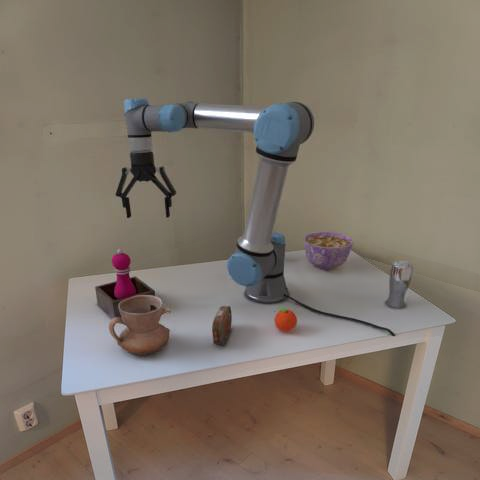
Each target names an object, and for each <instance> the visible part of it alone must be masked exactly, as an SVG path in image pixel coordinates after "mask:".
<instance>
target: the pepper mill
mask: <svg viewBox="0 0 480 480" xmlns="http://www.w3.org/2000/svg"><path fill="white" fill-rule="evenodd" d="M131 263H132V261H131V258H130V256H129V254H128V253H125V252H124V251H123V249H122V248H118V249H117V251H116V253H115V254H113V256H112V258H111V265H112V266H113V267H114V273H115V274H116V281H117V283H116V286H115V290H114V295H115V297H116V298H117V299H118V300H119V299H123V298H126V297H130V296H133V295H136V289H135V287H134V285H133V283H132V282H131V279H130V278H131V276H130V273H131V266H130V265H131Z"/></svg>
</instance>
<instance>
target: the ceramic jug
mask: <svg viewBox="0 0 480 480" xmlns="http://www.w3.org/2000/svg"><path fill="white" fill-rule="evenodd" d="M150 305H153V306H155V307H157V309H154V310H151V309H150ZM118 308H119V312H120V314H121V318H120V317H116V318H113V319H112V318H111V320H109V323H108V331H109V333H110V336H111V337H112V338H114V340H115V341H116V343H117V345H118V346H119V347H120V348H121V349H122V350H124V351H125V352H127V353H130V354H132V355H139V356H144V355H145V356H146V355H151V354H155V353H157V352H159V351H161V350H163V349H164V348H165V347H166V346H167V345H168V343H169V341H170V332H171V329H170V328H168V327H166V326H165V325H163V324H162V323H160V321H161V317H163V315H164V314H168V313H169V314H171V312H172V308H171V307H166V306H165V307H164V304H163V301H162V299H161V298H160V297H158V296H156V295H155V296H152V295H138V296H134V297H130V298H127V299H125V300H123V301H121V302H120V303H119V305H118ZM116 324H121V325H125V326H126V327H125V328H124V329H123V330H122V331H121V332H120V334H119V336H118V334H117V333H116V331H115V325H116Z"/></svg>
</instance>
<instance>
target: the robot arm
mask: <svg viewBox="0 0 480 480" xmlns="http://www.w3.org/2000/svg"><path fill="white" fill-rule="evenodd" d="M123 107H124V108H123V109H124V119H125V125H126V132H127V142H128V150H129V152H130V153H129V158H130V166H131V167H128V166H124V167H122V168H121V176H120V179H119V182H118V185H117V187H116V188H117V189H116V192H115V197H118V198H120V199H121V203H122V204H121V205H122V208H123V209H125V213H126V218H127V219H130V218H131V217H132V210H131V204H130V203H131V202H130V197H129V196H128V194H129V193H130V192H131V190H132V189H133V187H135V184H136V183H137V182H141V183H142V182H150V181H151V182H152V183H153V184H154V185H155V187H157V188H158V189H159V190H160V192H162V194H163V195H164V196H165V197H164V209H165V217H166V219H167V218H170V216H171V210H170V208H171V207H173V200H172V198H173V197H174V196H176V195H177V191H176V189H175V187H174V185H173V184H172V182H171V180H170V178H169V176H168V174H167V173H166V170H165V166H164V165H163V166H159V167H156V166H155V157H154V156H155V155H154V152H153V149H154V147H153V137H152V132H160V133H161V132H162V133H165V132H167V133H176V132H180V131H182V129H198V130H199V129H200V130H201V129H202V130H215V131H223V132H226V131H227V132H236V133H250V134H253V137H254V140H255V141H256V147H255V154H256V156H257V157H258V165H257V169H256V174H255V179H254V184H253V188H252V193H251V198H250V202H249V208H248V212H247V216H246V221H245V226H244V228H245V229H244V231H243V235H241V236H239V237H238V238H237V240H236V245H235V251H234V253H232V255H230V257H229V258H228V260H227V263H226V268H227V272H228V275H229V276H230V277H231V280H233V281H234V282H235V283H236V284H238V285H240V286H242V287H245V297H247V299H249V300H251V301H252V302H256V303H261V304H274V303H279V302H282V301H284V300H286V298H288V299H289V300H290V301H293V302H294V303H297V304H298V305H300V306H302V307H304V308H305V309H307V310H310V311H313V312H316V313H319V314H321V315H325V316H331V317H335V318H340V319H344V320H345V319H346V320H350V321H354V322H358V323H361V324H364V325H368V326H371V327H374V328H376V329H379V330H383V331H387V332H388V333H389V334H390V335H391V336H392V337H396V335H395V333H394V332H393V331H392V330H391V329H389V328H387V327H384V326H379V325H377V324H374V323H372V322H369V321H365V320H361V319H357V318H355V317H349V316H344V315H340V314H335V313H331V312H330V313H329V312H325V311H322V310H318V309H316V308H312V307H311V306H309V305H306V304H304V303H303V302H300V301H299V300H296V299H295V298H293V297H291V296H290V295H288V294H289V293H288V291H289V289H288V286H287V282H286V278H285V276H284V273H285V257H286V245H287V244H286V236H285V235H284V234H283V233H281V232H277V231H274V228H275V223H276V220H277V216H278V211H279V208H280V204H281V199H282V195H283V192H284V188H285V183H286V180H287V176H288V171H289V167H290V166H291V165H293V164H294V163H295V162H296V161H297V157H298V153H299V150H300V147H301V145H302V144H304V143H305V142H307V141H308V139H310V137H311V136H312V134H313V132H314V128H315V117H314V114H313V112H312V110H311V108H310V107H309V106H308V105H306V104H304V103H302V102H300V101H290V102H284V103H283V102H279V103H273V104H271V105H270V106H260V105H259V106H258V105H242V104H222V103H221V104H220V103H204V102H202V103H201V102H200V103H199V102H195V101H185V102H178V103H177V102H176V103H168V104H153V105H151V104H150V103H149V100H148V99H147V98H145V97H143V98H126V99H125V100H124V101H123ZM130 173H131V174H132V178H131V180H130V182H129V183H128V185H127V186H126V188H125V189H124V187H125V183H126V181H127V178H128V175H130ZM156 173H158V174H159V175H160V177H161V179H162V180H163V183H164V184H165V185H166V186H165V185H164V184H163V183H162V182H161V181H160V180H159V179H158V176H156ZM166 187H167V188H166ZM123 189H124V191H123Z"/></svg>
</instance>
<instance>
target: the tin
mask: <svg viewBox="0 0 480 480" xmlns="http://www.w3.org/2000/svg"><path fill="white" fill-rule="evenodd" d="M232 317H233V316H232V309H231V306H230V305H227V306H226V305H224V306H223V305H222V306H220V307H219V308H218V311H217V312H216V314H215V316H214V318H213V321H212V325H211V332H212V341H213V344H215V345H221V346H224V345H225V343H226V341H227V339H228V336H229V334H230V333H231V332H230V331H231V329H232V321H233V320H232V319H233V318H232Z"/></svg>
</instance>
